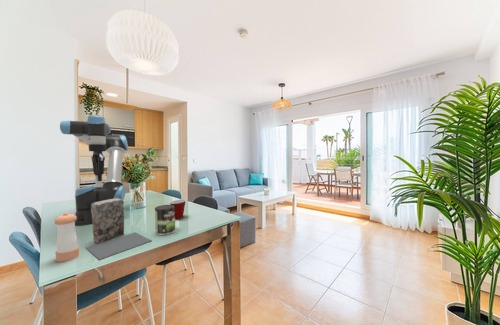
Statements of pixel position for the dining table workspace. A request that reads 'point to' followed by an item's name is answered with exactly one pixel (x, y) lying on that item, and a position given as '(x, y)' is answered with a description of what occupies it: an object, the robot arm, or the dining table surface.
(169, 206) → the coffee can
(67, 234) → the salt shaker
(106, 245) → the mat
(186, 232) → the dining table surface
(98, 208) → the stone block
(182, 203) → the plastic cup
